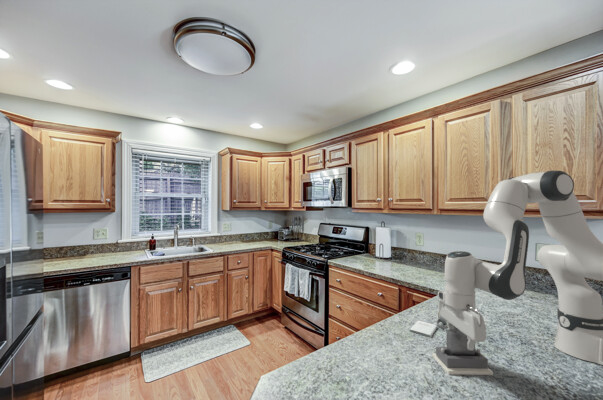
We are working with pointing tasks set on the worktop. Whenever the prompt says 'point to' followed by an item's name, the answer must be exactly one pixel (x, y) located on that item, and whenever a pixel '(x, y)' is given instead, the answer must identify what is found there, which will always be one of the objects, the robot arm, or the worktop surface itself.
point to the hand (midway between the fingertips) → (460, 341)
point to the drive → (458, 344)
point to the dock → (464, 371)
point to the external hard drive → (424, 328)
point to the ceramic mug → (442, 322)
